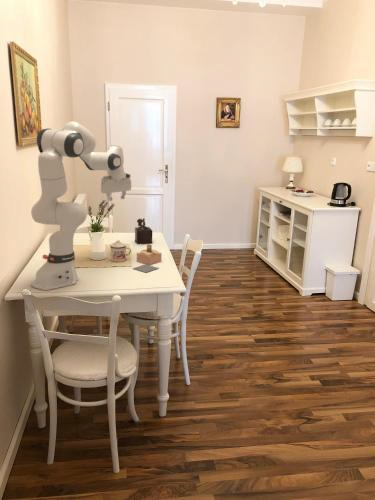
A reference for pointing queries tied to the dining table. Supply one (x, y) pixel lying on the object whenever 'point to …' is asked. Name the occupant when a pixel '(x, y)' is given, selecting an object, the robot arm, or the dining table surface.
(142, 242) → the brown wooden box
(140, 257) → the pink hollow square box
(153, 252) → the lid
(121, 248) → the teacup with lid
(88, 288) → the dining table surface
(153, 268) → the mat
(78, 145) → the robot arm
